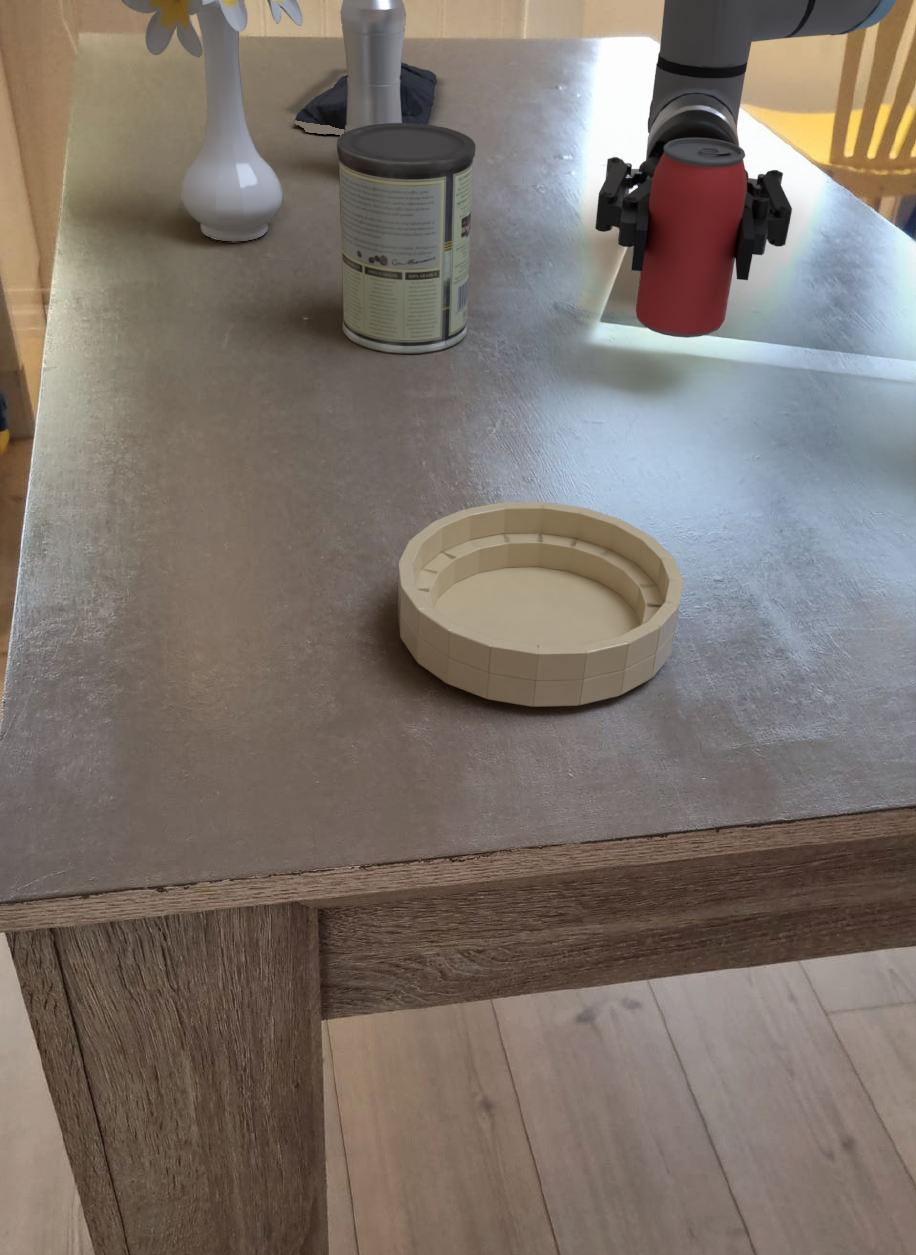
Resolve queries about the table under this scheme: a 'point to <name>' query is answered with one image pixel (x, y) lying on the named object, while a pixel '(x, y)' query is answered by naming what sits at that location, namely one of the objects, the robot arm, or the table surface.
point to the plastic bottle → (373, 60)
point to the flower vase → (220, 117)
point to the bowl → (538, 603)
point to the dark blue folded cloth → (413, 98)
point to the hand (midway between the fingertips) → (692, 255)
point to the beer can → (691, 237)
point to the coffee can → (405, 235)
